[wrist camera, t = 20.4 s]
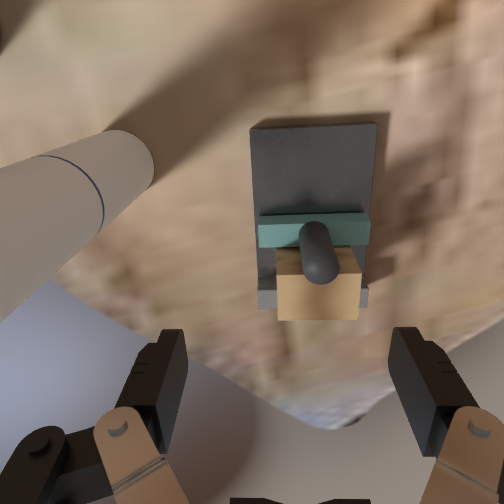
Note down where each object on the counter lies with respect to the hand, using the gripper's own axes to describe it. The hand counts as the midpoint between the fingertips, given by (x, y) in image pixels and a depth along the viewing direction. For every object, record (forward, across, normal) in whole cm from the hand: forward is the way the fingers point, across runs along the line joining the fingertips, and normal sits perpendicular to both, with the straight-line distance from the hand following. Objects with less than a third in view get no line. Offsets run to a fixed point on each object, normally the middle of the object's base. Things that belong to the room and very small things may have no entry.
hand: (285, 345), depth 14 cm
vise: (+27, -4, +5) cm, 27 cm away
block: (+25, -4, +10) cm, 27 cm away
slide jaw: (+25, -4, +6) cm, 26 cm away
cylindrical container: (+28, +16, -1) cm, 32 cm away
